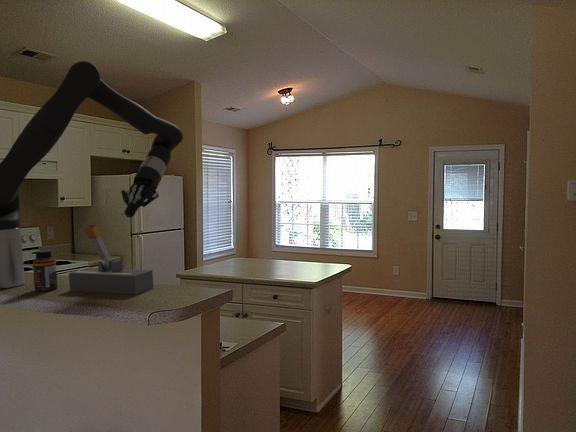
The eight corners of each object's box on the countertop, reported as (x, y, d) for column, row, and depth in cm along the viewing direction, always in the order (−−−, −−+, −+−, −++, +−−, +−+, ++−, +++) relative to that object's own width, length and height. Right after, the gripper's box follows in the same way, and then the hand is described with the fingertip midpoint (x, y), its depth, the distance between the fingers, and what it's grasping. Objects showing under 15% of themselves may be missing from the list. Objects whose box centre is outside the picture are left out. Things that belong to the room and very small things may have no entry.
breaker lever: (105, 271, 137) (84, 228, 129) (109, 267, 138) (88, 224, 130) (113, 272, 136) (92, 228, 128) (117, 267, 137) (96, 224, 129)
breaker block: (70, 290, 137) (67, 262, 136) (90, 284, 144) (88, 257, 144) (135, 294, 130) (134, 264, 129) (153, 287, 137) (151, 259, 136)
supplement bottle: (30, 291, 138) (26, 251, 137) (48, 286, 143) (46, 248, 142) (43, 293, 135) (40, 252, 134) (62, 288, 140) (59, 249, 139)
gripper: (127, 166, 154) (103, 207, 143) (163, 164, 149) (141, 207, 139) (138, 182, 159) (116, 223, 149) (173, 181, 155) (153, 223, 144)
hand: (128, 215), depth 144 cm, fingers closed
